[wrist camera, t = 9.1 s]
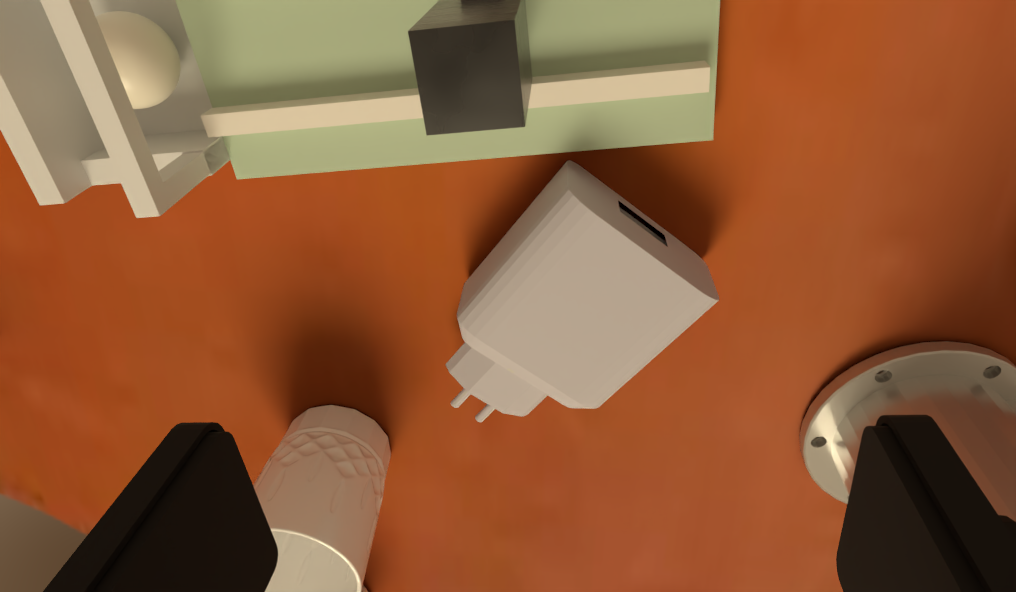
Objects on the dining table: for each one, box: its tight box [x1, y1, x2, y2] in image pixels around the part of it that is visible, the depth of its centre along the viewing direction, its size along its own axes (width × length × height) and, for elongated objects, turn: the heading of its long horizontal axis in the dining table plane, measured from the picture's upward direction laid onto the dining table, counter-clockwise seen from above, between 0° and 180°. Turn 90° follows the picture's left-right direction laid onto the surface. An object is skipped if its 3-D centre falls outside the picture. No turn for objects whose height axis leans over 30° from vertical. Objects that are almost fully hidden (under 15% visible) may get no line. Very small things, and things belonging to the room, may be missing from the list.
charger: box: [445, 160, 719, 422], centre depth 35 cm, size 5×9×15 cm
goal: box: [0, 0, 230, 218], centre depth 28 cm, size 7×10×8 cm
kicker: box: [408, 0, 532, 135], centre depth 23 cm, size 3×4×10 cm
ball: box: [95, 11, 181, 109], centre depth 29 cm, size 4×4×4 cm
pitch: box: [175, 0, 720, 179], centre depth 28 cm, size 22×12×3 cm, turn 97°
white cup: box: [253, 405, 391, 592], centre depth 39 cm, size 8×8×10 cm
